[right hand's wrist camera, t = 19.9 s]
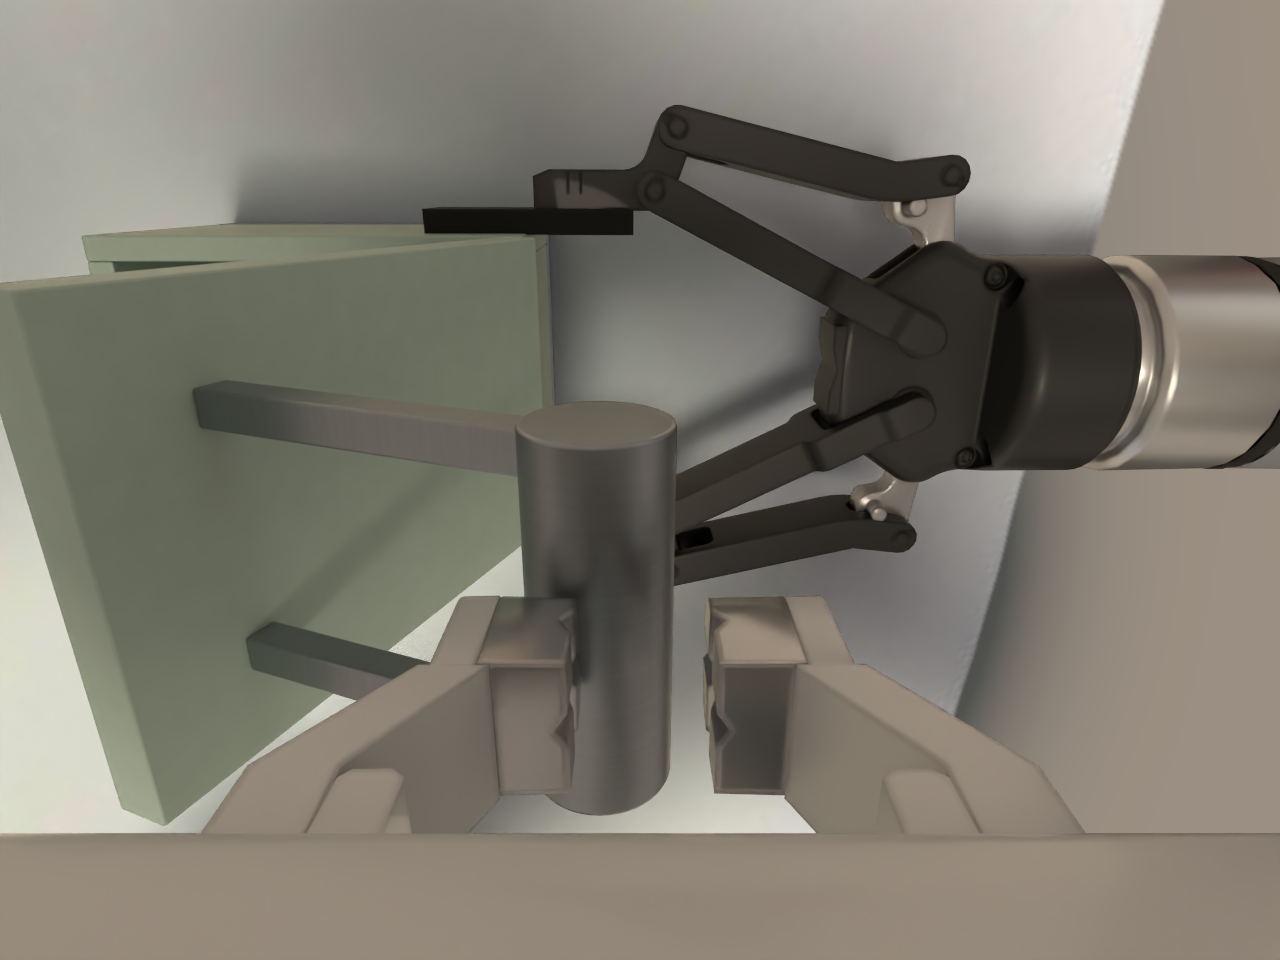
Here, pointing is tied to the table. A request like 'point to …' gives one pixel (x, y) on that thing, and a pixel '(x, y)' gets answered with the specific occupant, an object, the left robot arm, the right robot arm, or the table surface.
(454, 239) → the chest
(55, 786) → the table surface
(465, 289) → the box cover with handle
